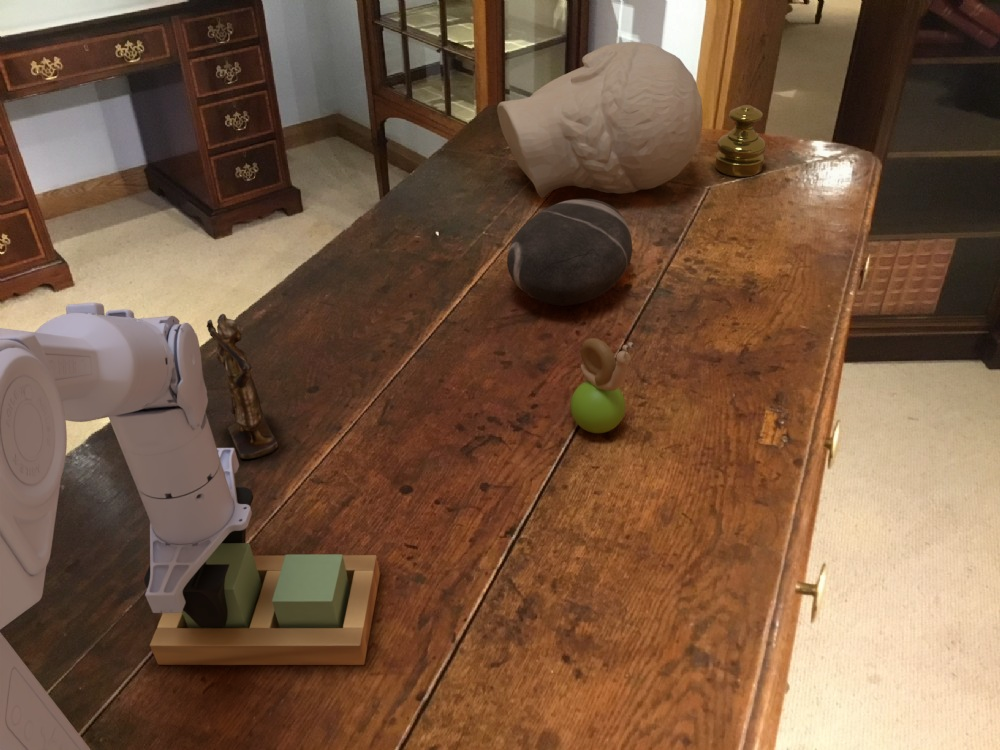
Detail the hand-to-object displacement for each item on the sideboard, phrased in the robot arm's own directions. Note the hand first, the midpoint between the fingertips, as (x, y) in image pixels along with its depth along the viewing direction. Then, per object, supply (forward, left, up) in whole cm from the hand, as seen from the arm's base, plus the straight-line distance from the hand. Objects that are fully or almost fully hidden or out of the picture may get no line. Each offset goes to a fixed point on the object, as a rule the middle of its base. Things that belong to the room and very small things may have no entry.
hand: (222, 596), depth 67 cm
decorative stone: (+59, +6, -3) cm, 59 cm away
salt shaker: (+104, +4, -3) cm, 104 cm away
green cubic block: (+4, -6, -3) cm, 8 cm away
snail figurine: (+37, -12, -3) cm, 39 cm away
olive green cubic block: (0, 0, -1) cm, 1 cm away
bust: (+87, +20, -3) cm, 89 cm away
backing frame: (+2, -3, -3) cm, 4 cm away
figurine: (+15, +15, -3) cm, 22 cm away
